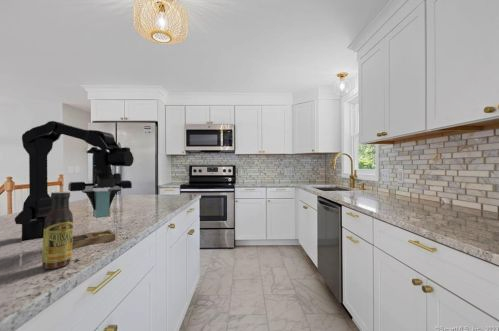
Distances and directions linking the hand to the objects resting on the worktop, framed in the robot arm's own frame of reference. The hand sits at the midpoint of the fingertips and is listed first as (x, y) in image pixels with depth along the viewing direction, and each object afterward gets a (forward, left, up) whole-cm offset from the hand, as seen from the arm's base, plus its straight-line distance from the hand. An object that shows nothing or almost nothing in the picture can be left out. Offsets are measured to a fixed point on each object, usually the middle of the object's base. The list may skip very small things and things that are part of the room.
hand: (101, 209), depth 84 cm
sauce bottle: (-13, -16, -12) cm, 24 cm away
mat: (0, +10, -11) cm, 15 cm away
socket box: (-3, 0, -11) cm, 12 cm away
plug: (0, 0, -3) cm, 3 cm away
